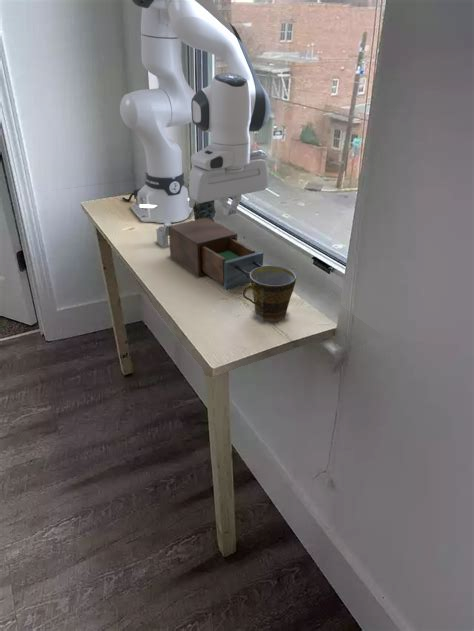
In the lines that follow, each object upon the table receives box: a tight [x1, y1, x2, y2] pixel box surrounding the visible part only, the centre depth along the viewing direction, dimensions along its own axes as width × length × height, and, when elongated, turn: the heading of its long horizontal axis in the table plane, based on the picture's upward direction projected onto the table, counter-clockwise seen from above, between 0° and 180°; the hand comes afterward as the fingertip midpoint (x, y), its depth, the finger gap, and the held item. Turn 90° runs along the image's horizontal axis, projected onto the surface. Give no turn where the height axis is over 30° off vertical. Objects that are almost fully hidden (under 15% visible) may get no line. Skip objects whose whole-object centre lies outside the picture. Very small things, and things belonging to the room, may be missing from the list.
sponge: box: [218, 251, 239, 261], centre depth 128 cm, size 5×7×4 cm
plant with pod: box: [187, 176, 216, 222], centre depth 150 cm, size 8×11×20 cm
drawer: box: [200, 238, 264, 292], centre depth 125 cm, size 19×11×7 cm, turn 36°
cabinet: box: [168, 218, 238, 277], centre depth 136 cm, size 15×12×9 cm
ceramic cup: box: [242, 265, 297, 324], centre depth 111 cm, size 13×10×10 cm
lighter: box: [155, 222, 172, 248], centre depth 145 cm, size 7×2×8 cm, turn 33°
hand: (229, 213), depth 121 cm, fingers closed
